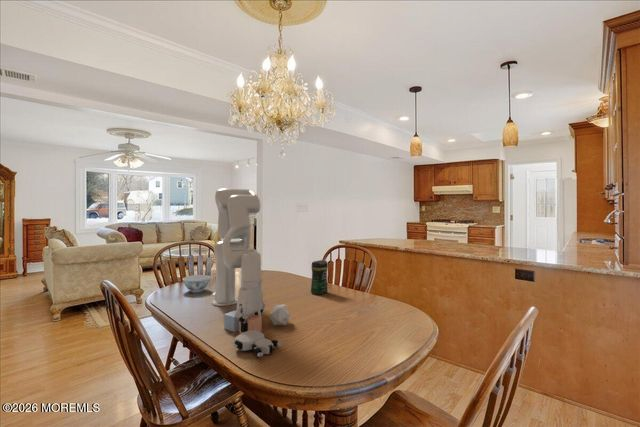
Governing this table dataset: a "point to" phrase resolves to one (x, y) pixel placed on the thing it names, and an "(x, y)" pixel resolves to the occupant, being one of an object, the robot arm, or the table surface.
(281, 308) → the die
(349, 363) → the table surface
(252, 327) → the terracotta block
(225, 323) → the slate block
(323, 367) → the table surface
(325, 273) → the coffee jar
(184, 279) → the chinaware
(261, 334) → the robot toy
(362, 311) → the table surface
